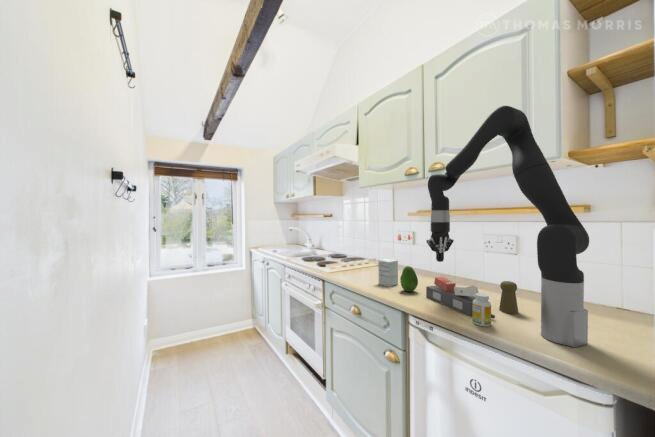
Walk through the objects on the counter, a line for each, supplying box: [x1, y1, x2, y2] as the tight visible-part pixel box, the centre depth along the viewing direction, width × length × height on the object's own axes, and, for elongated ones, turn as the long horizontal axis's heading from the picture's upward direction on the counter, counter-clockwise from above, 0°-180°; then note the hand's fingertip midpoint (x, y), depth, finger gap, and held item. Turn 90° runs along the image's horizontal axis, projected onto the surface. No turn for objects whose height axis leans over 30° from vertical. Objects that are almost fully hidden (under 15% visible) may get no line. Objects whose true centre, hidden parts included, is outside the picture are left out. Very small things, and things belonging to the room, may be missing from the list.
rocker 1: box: [433, 276, 457, 291], centre depth 111 cm, size 7×5×3 cm
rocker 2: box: [454, 285, 479, 296], centre depth 101 cm, size 7×5×3 cm
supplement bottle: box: [471, 292, 492, 327], centre depth 88 cm, size 5×5×10 cm
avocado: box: [399, 265, 419, 292], centre depth 125 cm, size 8×8×12 cm
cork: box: [498, 280, 519, 315], centre depth 99 cm, size 6×6×11 cm
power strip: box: [425, 284, 496, 320], centre depth 104 cm, size 29×8×5 cm, turn 19°
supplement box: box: [377, 258, 399, 287], centre depth 138 cm, size 7×7×13 cm
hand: (440, 261), depth 114 cm, fingers closed
